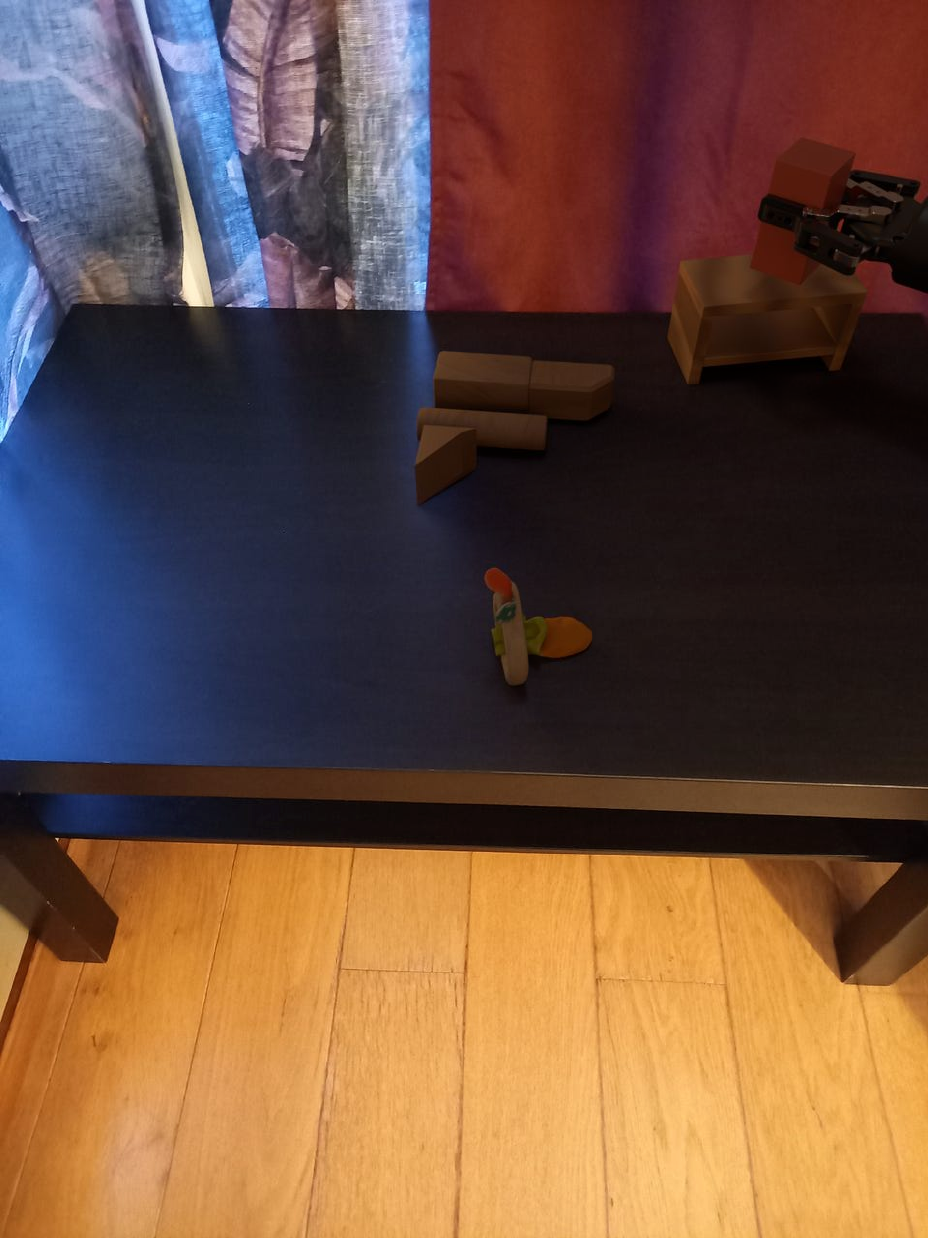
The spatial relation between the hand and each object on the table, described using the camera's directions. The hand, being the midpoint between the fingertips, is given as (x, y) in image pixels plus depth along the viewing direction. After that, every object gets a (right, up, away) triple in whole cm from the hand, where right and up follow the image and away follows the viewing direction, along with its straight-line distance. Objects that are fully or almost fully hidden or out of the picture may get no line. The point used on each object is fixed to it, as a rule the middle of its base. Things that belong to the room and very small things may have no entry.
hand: (776, 193), depth 83 cm
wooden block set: (-23, -22, +7) cm, 32 cm away
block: (+2, -5, +4) cm, 7 cm away
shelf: (+2, -10, +15) cm, 18 cm away
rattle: (-22, -41, -9) cm, 48 cm away
